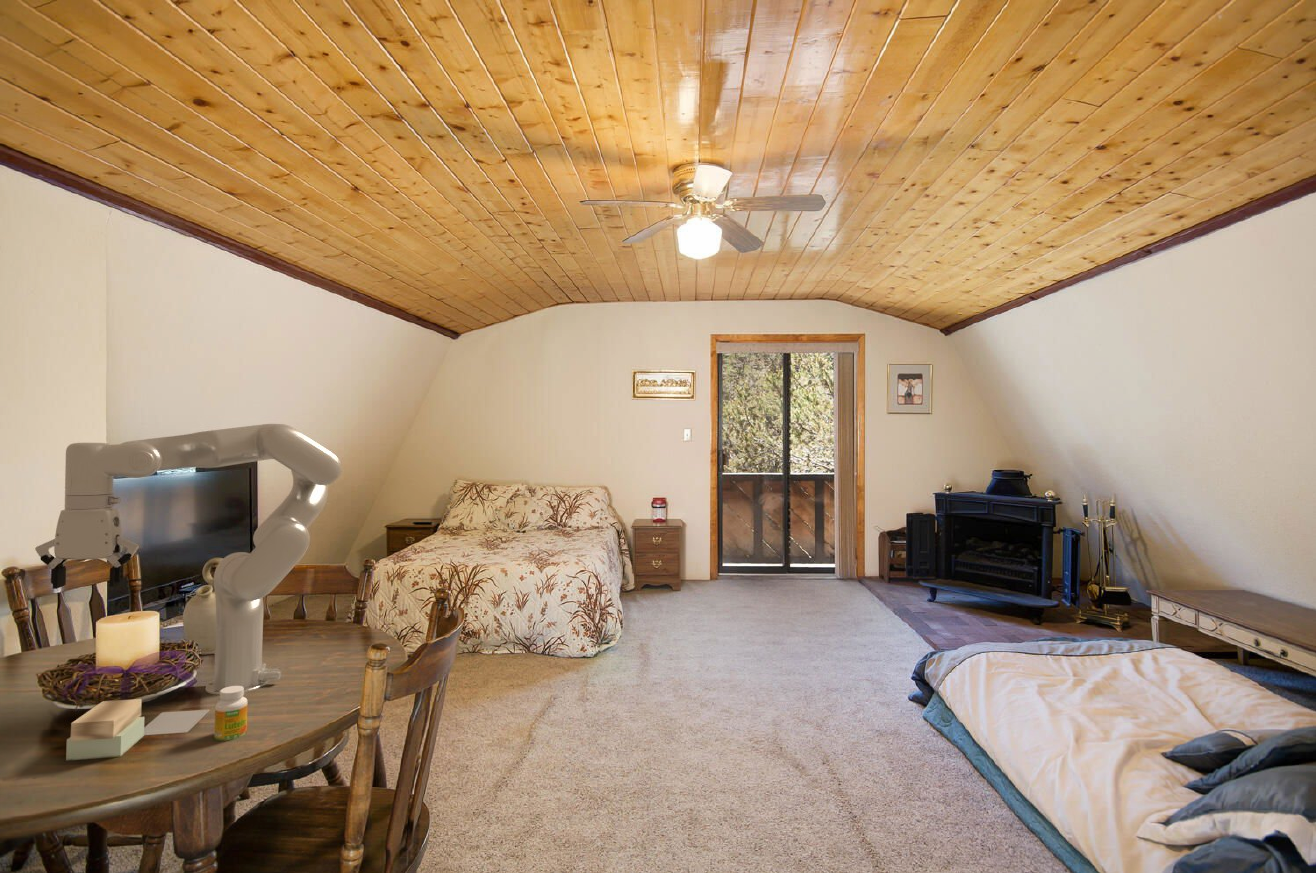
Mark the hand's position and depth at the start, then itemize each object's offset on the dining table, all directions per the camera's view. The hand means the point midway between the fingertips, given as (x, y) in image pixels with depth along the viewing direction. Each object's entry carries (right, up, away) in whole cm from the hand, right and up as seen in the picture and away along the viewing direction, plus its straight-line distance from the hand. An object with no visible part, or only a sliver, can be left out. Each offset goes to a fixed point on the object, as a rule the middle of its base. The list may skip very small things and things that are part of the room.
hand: (87, 586), depth 137 cm
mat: (+18, -28, 0) cm, 34 cm away
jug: (-5, -28, +47) cm, 55 cm away
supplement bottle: (+33, -29, -5) cm, 44 cm away
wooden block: (+14, -24, -12) cm, 30 cm away
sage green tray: (+14, -28, -12) cm, 34 cm away
